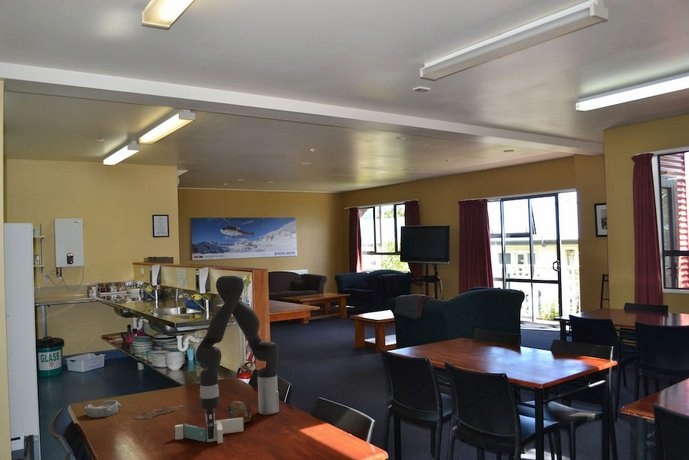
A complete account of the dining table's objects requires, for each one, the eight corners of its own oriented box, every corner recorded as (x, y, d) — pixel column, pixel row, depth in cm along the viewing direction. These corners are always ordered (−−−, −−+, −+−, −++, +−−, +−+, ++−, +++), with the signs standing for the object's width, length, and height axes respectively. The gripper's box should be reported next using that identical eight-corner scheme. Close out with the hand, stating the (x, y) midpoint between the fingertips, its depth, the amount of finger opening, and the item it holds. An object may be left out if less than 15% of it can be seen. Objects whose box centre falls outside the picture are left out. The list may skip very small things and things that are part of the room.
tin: (227, 418, 248) (227, 400, 248) (233, 416, 250) (233, 398, 250) (247, 424, 237) (247, 405, 238) (253, 423, 240) (252, 404, 240)
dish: (80, 417, 257) (80, 406, 257) (103, 408, 270) (103, 398, 270) (103, 420, 252) (103, 409, 252) (125, 411, 264) (125, 401, 265)
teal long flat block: (207, 440, 218) (207, 427, 218) (203, 442, 216) (203, 429, 216) (185, 436, 224) (185, 423, 225) (181, 437, 223) (181, 424, 223)
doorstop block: (217, 437, 221) (216, 420, 221) (217, 440, 217) (217, 423, 217) (207, 438, 220) (206, 421, 220) (207, 442, 216) (207, 424, 216)
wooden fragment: (140, 421, 247) (140, 419, 247) (129, 417, 255) (129, 415, 255) (190, 408, 266) (189, 406, 266) (178, 404, 274) (178, 402, 274)
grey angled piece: (243, 429, 231) (242, 417, 231) (246, 439, 219) (245, 426, 219) (175, 438, 223) (175, 425, 224) (174, 449, 211) (174, 435, 211)
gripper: (219, 398, 213) (220, 440, 212) (218, 389, 227) (219, 428, 226) (200, 400, 211) (201, 442, 210) (199, 391, 225) (200, 430, 224)
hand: (210, 435), depth 218 cm, fingers open, 8 cm apart
